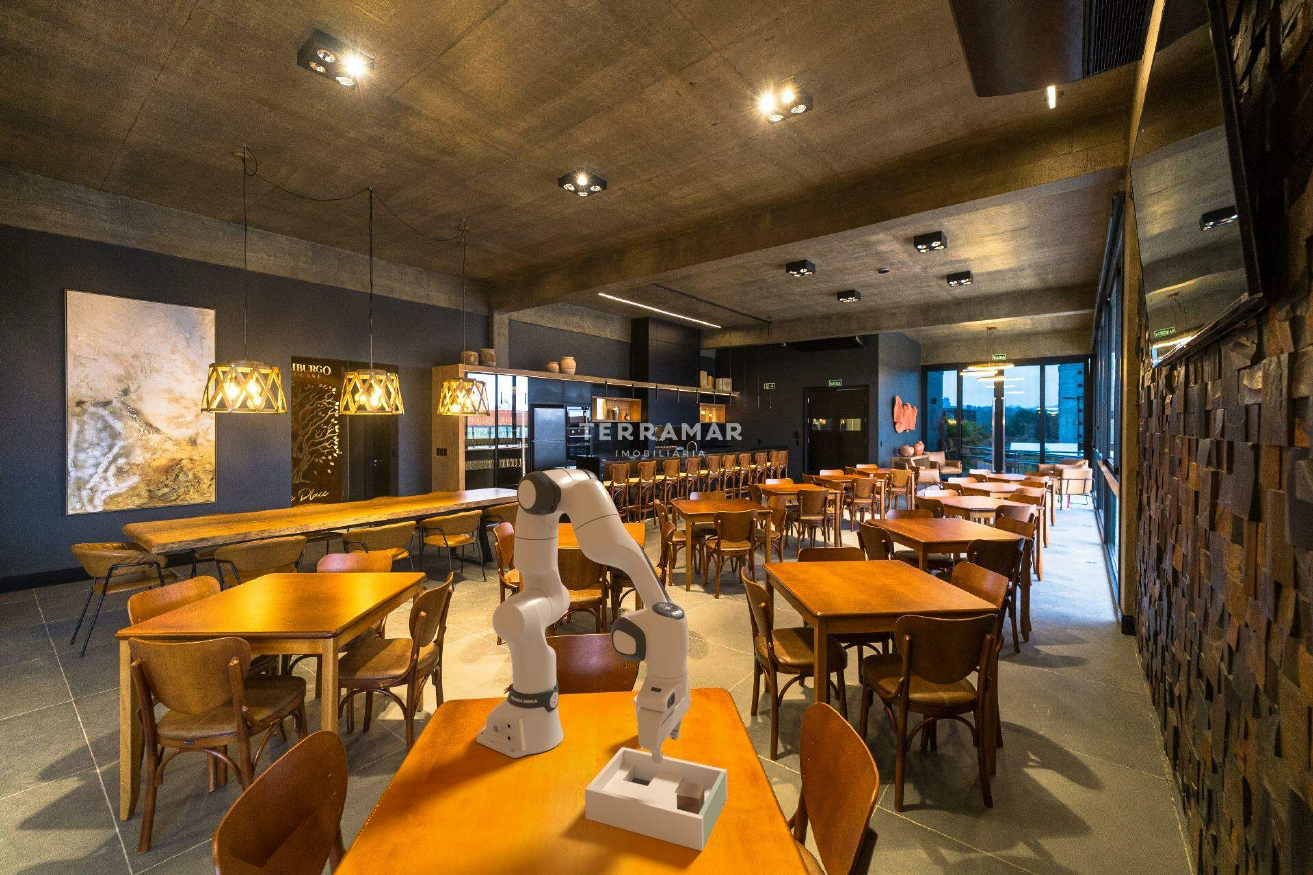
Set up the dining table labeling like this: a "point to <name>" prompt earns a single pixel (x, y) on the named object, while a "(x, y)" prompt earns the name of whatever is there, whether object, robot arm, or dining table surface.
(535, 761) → the dining table surface
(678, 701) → the robot arm
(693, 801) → the walnut block
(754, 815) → the dining table surface
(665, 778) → the box
